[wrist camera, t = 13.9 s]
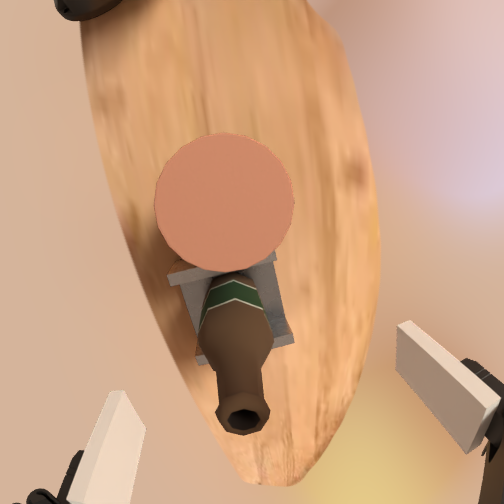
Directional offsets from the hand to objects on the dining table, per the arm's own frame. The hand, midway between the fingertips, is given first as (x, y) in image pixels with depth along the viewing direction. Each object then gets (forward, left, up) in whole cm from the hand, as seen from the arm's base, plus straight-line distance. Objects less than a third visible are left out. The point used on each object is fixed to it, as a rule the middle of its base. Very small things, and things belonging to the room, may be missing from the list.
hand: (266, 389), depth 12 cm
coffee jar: (-8, 0, -30) cm, 31 cm away
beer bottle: (+6, -2, -28) cm, 29 cm away
